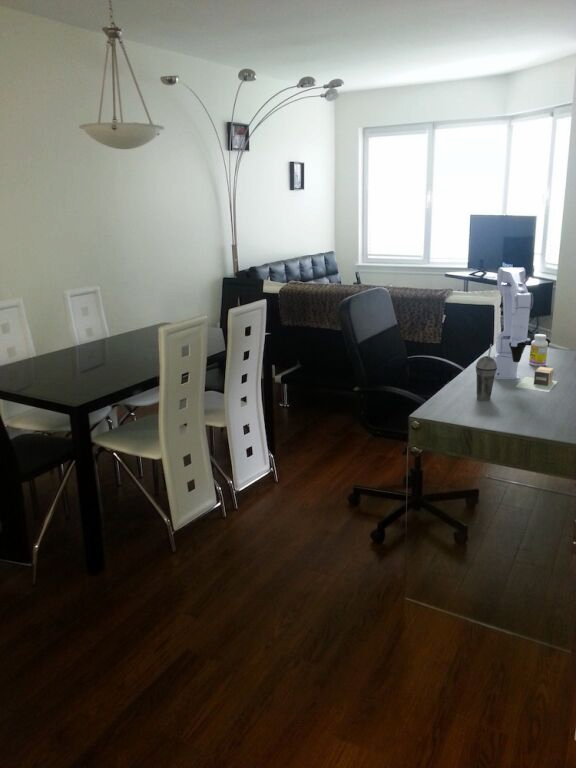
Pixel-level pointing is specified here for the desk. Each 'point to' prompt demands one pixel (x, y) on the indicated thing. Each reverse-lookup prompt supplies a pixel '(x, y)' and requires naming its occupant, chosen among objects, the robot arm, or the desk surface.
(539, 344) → the supplement bottle
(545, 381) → the tan block
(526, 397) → the desk surface
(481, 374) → the beverage cup
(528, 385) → the mat
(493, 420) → the desk surface
